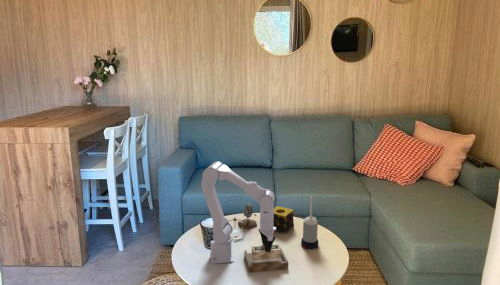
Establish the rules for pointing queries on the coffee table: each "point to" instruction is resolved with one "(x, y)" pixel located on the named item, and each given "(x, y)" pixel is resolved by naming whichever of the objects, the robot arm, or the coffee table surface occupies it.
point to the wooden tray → (265, 263)
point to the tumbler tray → (261, 254)
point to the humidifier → (310, 231)
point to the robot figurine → (247, 222)
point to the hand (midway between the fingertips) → (266, 248)
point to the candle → (283, 219)
